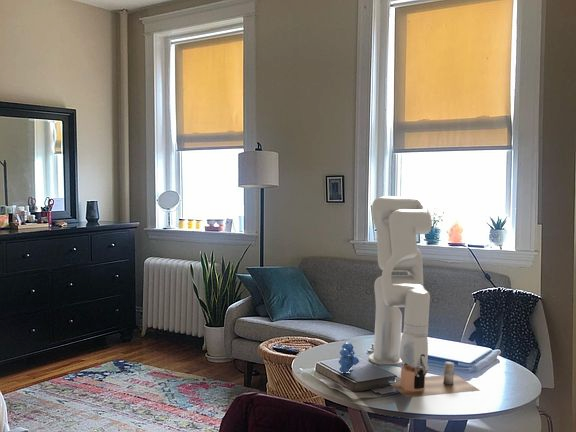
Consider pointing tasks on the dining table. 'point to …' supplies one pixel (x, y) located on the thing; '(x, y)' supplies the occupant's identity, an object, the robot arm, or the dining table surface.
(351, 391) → the dining table surface
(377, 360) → the robot arm
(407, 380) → the collar
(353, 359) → the grapes
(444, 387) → the stand
